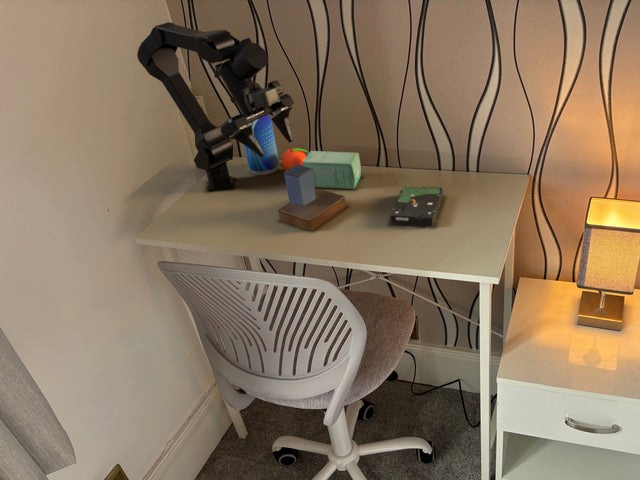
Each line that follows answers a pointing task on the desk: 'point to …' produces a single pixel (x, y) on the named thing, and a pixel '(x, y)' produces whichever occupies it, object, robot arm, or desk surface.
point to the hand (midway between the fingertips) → (277, 149)
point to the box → (334, 169)
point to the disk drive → (417, 206)
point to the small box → (300, 185)
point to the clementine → (293, 158)
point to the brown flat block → (313, 210)
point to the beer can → (263, 147)
